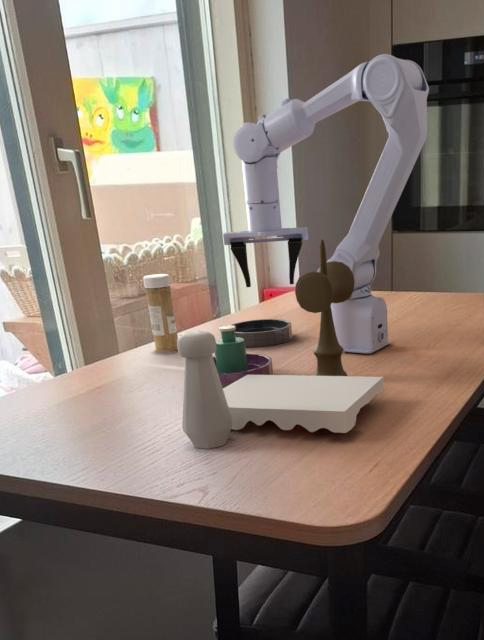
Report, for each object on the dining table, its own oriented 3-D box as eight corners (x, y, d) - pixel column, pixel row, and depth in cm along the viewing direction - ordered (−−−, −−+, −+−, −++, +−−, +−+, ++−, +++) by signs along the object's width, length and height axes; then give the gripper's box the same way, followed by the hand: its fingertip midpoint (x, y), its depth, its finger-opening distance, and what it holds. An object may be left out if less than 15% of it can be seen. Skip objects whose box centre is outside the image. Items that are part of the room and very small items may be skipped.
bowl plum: (288, 375, 108) (287, 356, 107) (242, 397, 99) (240, 377, 97) (226, 369, 114) (224, 350, 112) (177, 389, 104) (174, 370, 103)
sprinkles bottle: (184, 350, 127) (173, 274, 122) (160, 355, 125) (148, 277, 120) (174, 346, 131) (163, 272, 125) (151, 351, 129) (138, 275, 123)
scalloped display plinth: (196, 431, 87) (346, 439, 80) (192, 406, 86) (344, 411, 79) (250, 397, 100) (384, 401, 93) (247, 374, 99) (383, 376, 92)
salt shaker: (188, 436, 85) (172, 329, 80) (235, 432, 86) (222, 325, 80) (183, 453, 80) (165, 340, 75) (233, 449, 80) (219, 336, 75)
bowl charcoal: (304, 336, 132) (303, 320, 131) (268, 351, 123) (266, 334, 122) (252, 333, 138) (251, 317, 137) (214, 347, 129) (212, 330, 127)
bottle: (253, 375, 107) (247, 323, 104) (241, 384, 103) (235, 330, 100) (225, 375, 109) (219, 323, 105) (213, 384, 104) (206, 330, 101)
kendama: (359, 373, 106) (353, 235, 98) (338, 392, 98) (330, 242, 90) (322, 372, 108) (314, 236, 100) (299, 390, 100) (288, 243, 92)
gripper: (218, 206, 115) (227, 291, 121) (306, 201, 116) (311, 285, 121) (221, 204, 121) (230, 285, 127) (304, 199, 122) (310, 279, 128)
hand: (270, 285), depth 125 cm, fingers open, 7 cm apart
